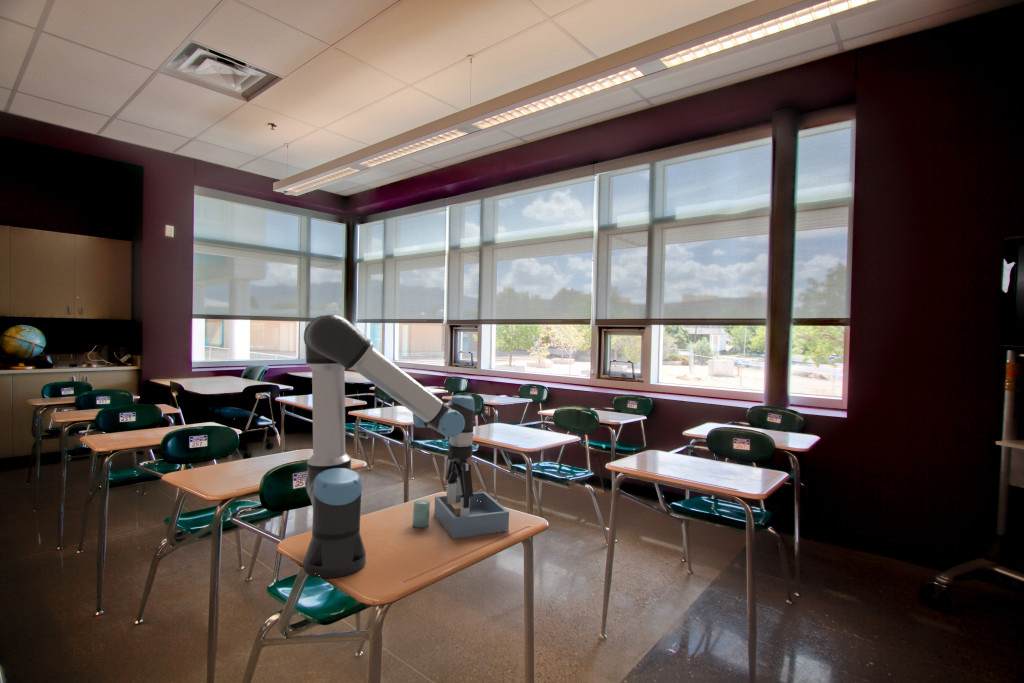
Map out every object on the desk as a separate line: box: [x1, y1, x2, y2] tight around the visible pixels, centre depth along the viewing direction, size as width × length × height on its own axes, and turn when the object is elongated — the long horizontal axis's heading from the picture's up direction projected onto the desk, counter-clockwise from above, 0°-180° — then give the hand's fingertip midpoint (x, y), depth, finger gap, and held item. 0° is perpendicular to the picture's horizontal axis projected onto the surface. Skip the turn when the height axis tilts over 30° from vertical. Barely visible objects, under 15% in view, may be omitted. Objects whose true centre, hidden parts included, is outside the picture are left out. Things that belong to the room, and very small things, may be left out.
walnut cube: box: [450, 502, 470, 517], centre depth 157 cm, size 5×5×5 cm
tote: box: [433, 491, 510, 539], centre depth 159 cm, size 18×21×6 cm
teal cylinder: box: [412, 499, 431, 529], centre depth 155 cm, size 5×5×7 cm
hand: (457, 510), depth 157 cm, fingers open, 13 cm apart
